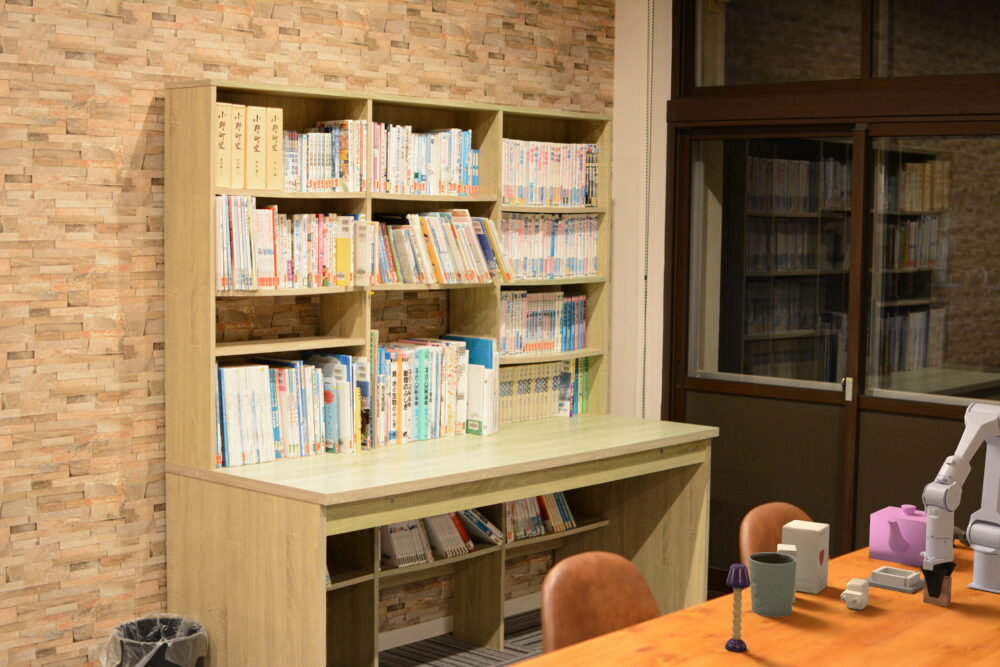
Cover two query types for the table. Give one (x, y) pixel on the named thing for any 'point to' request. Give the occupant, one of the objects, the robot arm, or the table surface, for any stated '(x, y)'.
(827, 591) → the table surface
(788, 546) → the skincare box
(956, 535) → the rhino figurine
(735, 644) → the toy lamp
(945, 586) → the block
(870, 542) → the pink knobbed box
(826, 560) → the supplement box
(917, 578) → the grey framed tray
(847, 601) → the power adapter
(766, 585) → the grey-green tapered cup
